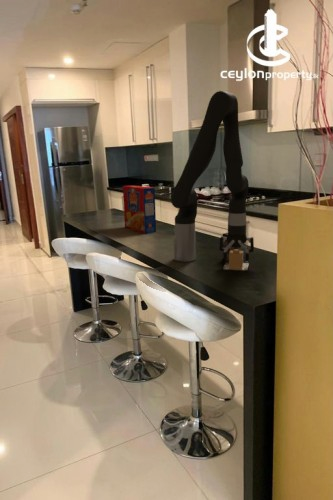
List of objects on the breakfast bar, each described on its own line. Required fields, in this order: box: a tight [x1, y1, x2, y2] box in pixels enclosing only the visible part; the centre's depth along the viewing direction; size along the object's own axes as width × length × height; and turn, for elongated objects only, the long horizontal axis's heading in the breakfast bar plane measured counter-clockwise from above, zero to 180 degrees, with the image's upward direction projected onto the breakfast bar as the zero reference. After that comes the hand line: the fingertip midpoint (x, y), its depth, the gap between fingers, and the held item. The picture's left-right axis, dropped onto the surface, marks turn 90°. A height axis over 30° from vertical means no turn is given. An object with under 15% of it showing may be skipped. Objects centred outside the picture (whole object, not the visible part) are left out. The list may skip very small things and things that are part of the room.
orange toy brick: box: [228, 248, 245, 268], centre depth 165 cm, size 6×6×7 cm
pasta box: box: [122, 184, 157, 235], centre depth 250 cm, size 28×8×28 cm, turn 32°
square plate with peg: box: [222, 261, 250, 272], centre depth 165 cm, size 10×10×4 cm
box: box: [222, 232, 238, 261], centre depth 178 cm, size 6×4×12 cm
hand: (236, 260), depth 165 cm, fingers open, 8 cm apart
